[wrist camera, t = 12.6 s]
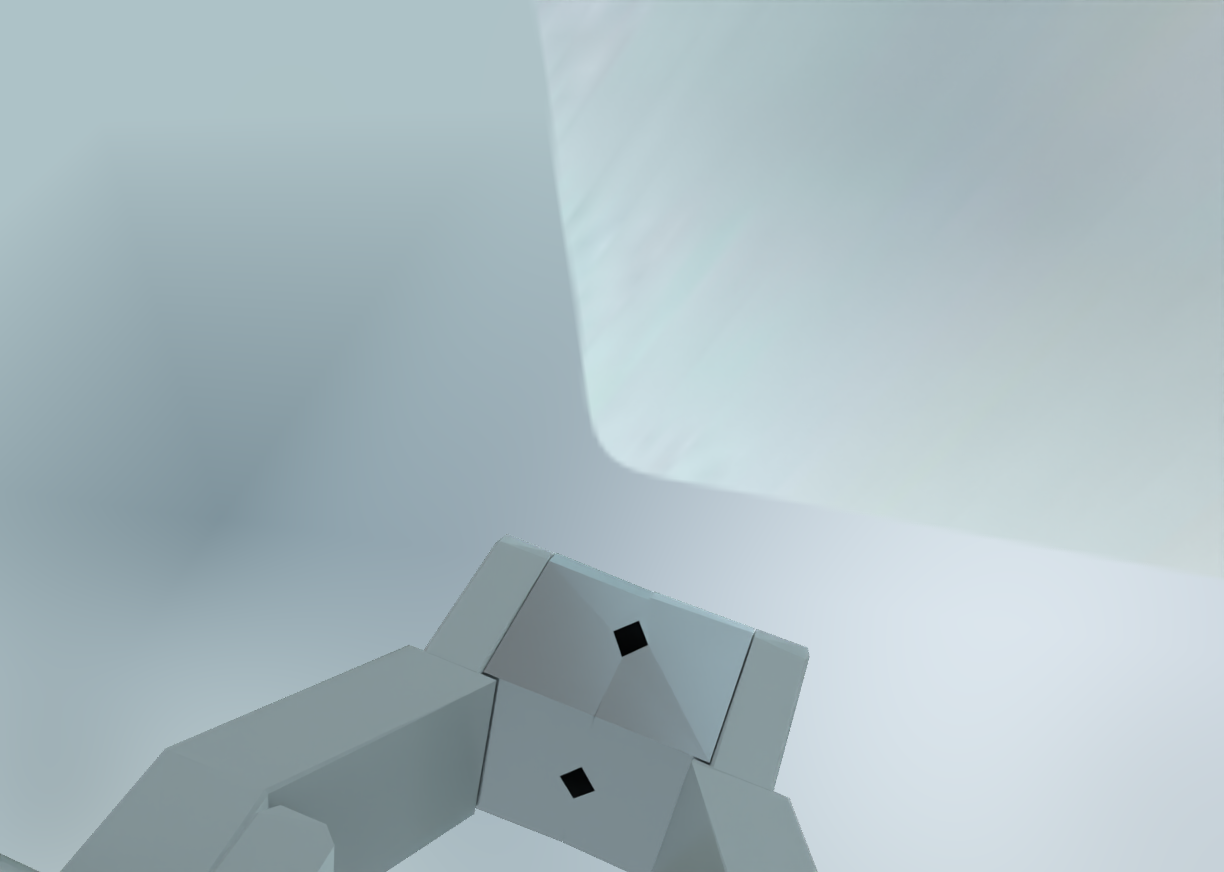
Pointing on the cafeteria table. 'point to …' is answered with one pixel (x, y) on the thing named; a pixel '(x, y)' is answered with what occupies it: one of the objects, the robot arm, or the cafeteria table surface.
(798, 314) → the cafeteria table surface
